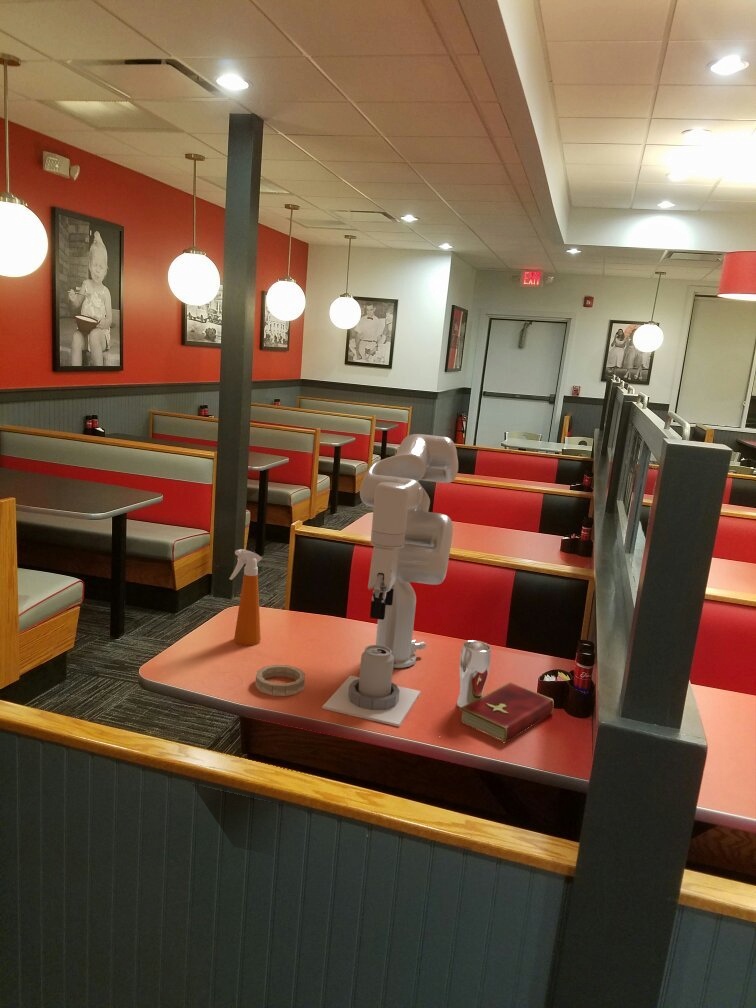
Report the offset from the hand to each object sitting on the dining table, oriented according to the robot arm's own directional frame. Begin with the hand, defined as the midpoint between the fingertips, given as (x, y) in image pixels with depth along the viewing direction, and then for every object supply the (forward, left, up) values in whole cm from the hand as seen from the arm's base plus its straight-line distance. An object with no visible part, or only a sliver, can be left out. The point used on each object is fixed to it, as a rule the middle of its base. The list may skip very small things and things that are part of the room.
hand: (381, 611), depth 164 cm
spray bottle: (+14, -43, -22) cm, 50 cm away
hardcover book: (-24, +20, -23) cm, 38 cm away
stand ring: (+16, -16, -22) cm, 31 cm away
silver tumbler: (-19, +12, -22) cm, 32 cm away
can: (0, 0, -21) cm, 21 cm away
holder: (0, 0, -22) cm, 22 cm away
